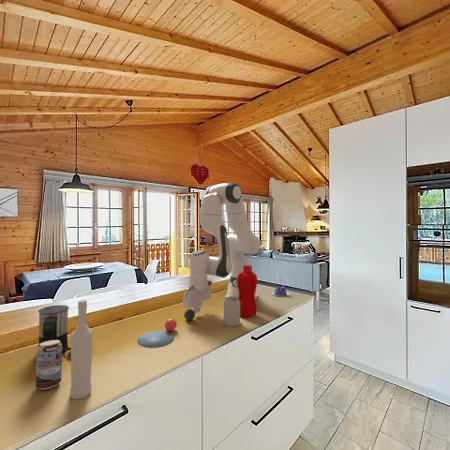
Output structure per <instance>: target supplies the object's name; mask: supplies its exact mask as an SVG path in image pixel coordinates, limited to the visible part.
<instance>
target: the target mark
mask: <svg viewBox="0 0 450 450" xmlns="http://www.w3.org/2000/svg"><path fill="white" fill-rule="evenodd" d="M174 340H175V336H174V334H173V333H171V332H170V331H164V330H154V331H148V332H145V333H143V334H141V335H139V336H138V337H137V340H136V342H137V344H138V345H140V346H141V347H145V348H160V347H161V348H162V347H164V346H167V345H170V344H171V343H172V342H173V341H174Z"/></svg>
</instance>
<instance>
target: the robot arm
mask: <svg viewBox="0 0 450 450" xmlns="http://www.w3.org/2000/svg"><path fill="white" fill-rule="evenodd" d="M242 193H243V192H242V188H241V187H240V185H239V184H238V183H236V182H235V183H234V182H225V183H219V184H218V183H217V184H212V185H209V186H208V187H207V188H206V189H205V192H204V196H203V198H202V202H201V206H200V215H199V223H200V226H201V228H202V229H203V230H204V231H205V232H207V233H209V234H211V235H212V236H214V237H215V238H216V239H217V242H218V251H219V252H218V253H219V256H212V255H209V254H208V253H207V251H206V250H201V249H199V250H194V251H192V253H191V254H190V257H189V258H190V259H189V268H188V269H189V277H188V287H187V288H186V290H185V291H184V294H183V297H182V298H183V299H182V307H183V308H185V309H192V307H193V311H194V312H195V314H198V313H199V312H201V308H202V304H203V302H205V301H208V300H209V299H210V298H211V296H212V285H213V281H212V280H208V276H213V277H218V278H221V279H224V278H227V277H228V276H230V277H229V283H228V284H227V293H226V294H225V296H224V297H225V298H226V297H231V296H232V297H239V290H238V285H237V277H238V274H239V273H241V272H242V271H243V266H244V265H250V266H251V264H250V261H249V260H247V258H246V256H245V255H253V254H256V253H258V252H259V251H260V250H261V248H262V247H261V243H262V242H261V240H260V238H259V237H257V235H255V234H254V232H253V231H252V229H251V227H250V224H249V222H248V218H247V212H246V207H245V204H244V200H243V196H242V195H243V194H242ZM223 205H224V206H225V212H226V219H227V224H228V228H230V230H232V231H233V232H234V233H231V234H228V229H227V227H226V226H225V225H224V223H223V220H222V206H223ZM258 294H259V293H257V292H256V293H255V301H256V300H257V298H258V297H259V295H258Z"/></svg>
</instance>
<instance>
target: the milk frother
mask: <svg viewBox="0 0 450 450" xmlns="http://www.w3.org/2000/svg"><path fill="white" fill-rule="evenodd" d="M69 309H70V306H68V305H66V304H65V305H64V304H58V305H49V306H45V307H42V308H40V309H38V313H39V315H38V316H39V317H38V347H39V346H40V343H42V342H46V341H50V340H60V343H61V344H62V354H63V353H64V352H66V351H71V346H69V345H68V343H69V342H68V336H69V335H68V331H69V330H68V328H69V327H68V324H69V323H68V322H69V321H68V320H69ZM38 347H37V348H38Z"/></svg>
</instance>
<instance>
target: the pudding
mask: <svg viewBox="0 0 450 450" xmlns="http://www.w3.org/2000/svg"><path fill="white" fill-rule="evenodd" d="M270 294H271V295H273V296H274V297H275V296H276V297H277V296H278V297H284V298H285V297H289V296H291V294H290V293H289V292H287V289H286V287H285V286H283V285H282V286H281V285H277V286H275V289H274V291H272V292H270Z"/></svg>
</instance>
